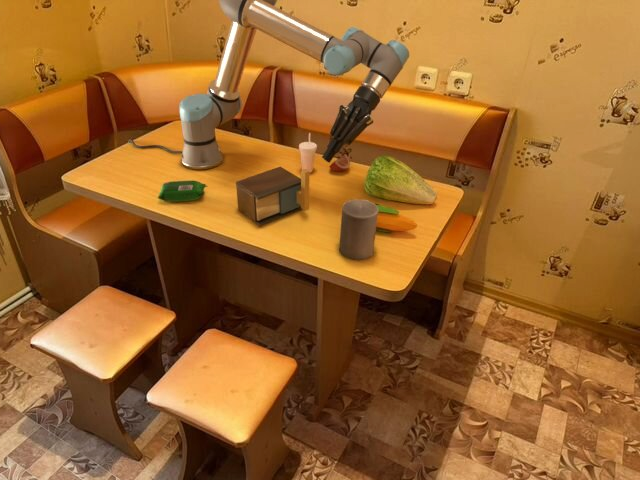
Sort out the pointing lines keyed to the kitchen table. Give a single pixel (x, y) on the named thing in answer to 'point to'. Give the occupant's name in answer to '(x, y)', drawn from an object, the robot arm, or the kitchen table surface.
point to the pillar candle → (358, 229)
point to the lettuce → (397, 182)
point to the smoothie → (307, 154)
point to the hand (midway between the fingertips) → (325, 160)
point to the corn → (392, 220)
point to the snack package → (181, 191)
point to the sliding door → (296, 195)
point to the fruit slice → (341, 163)
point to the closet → (265, 195)
